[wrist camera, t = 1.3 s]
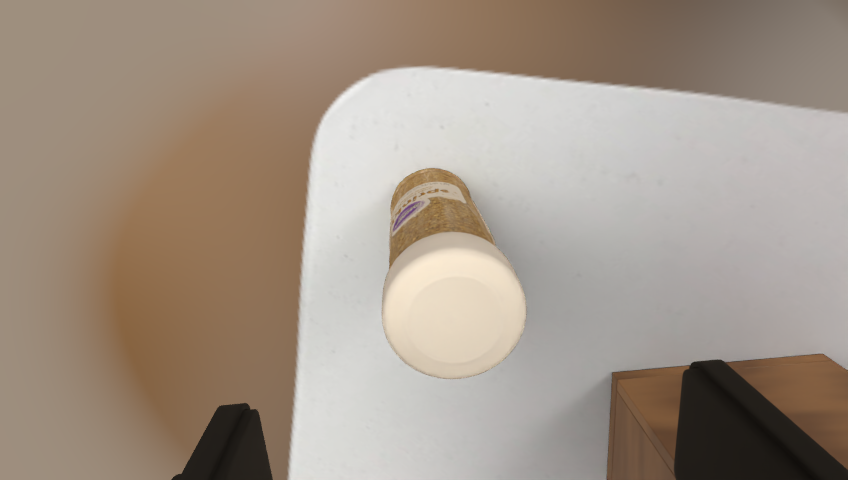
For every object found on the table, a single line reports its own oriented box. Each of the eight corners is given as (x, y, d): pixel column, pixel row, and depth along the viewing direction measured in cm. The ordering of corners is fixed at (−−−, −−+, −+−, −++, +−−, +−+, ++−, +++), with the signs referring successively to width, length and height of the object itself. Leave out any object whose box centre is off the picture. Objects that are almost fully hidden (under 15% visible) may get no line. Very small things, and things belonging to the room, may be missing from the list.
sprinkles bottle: (417, 151, 27) (432, 222, 14) (487, 193, 28) (560, 296, 15) (374, 221, 28) (353, 345, 16) (443, 260, 29) (477, 407, 16)
